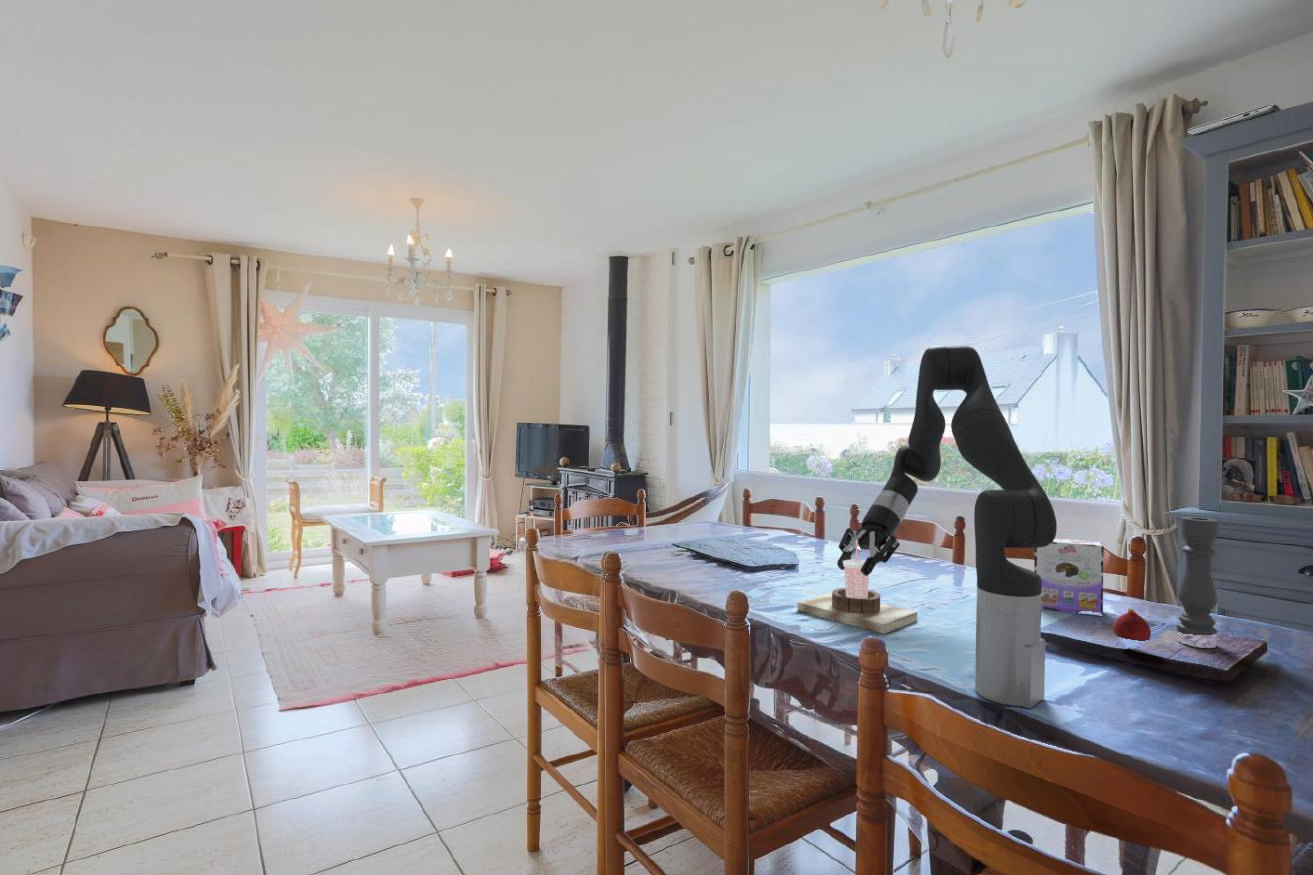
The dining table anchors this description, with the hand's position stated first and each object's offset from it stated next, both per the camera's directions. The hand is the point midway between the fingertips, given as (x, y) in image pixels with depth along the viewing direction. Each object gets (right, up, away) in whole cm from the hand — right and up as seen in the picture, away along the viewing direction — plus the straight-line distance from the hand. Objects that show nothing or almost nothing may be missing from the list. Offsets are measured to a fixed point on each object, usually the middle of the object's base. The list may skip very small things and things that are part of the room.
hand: (851, 570), depth 149 cm
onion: (+48, -11, -21) cm, 54 cm away
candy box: (+53, -11, +6) cm, 54 cm away
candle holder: (+64, -11, -17) cm, 67 cm away
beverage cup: (+1, -7, +1) cm, 8 cm away
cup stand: (+1, -11, +1) cm, 11 cm away
